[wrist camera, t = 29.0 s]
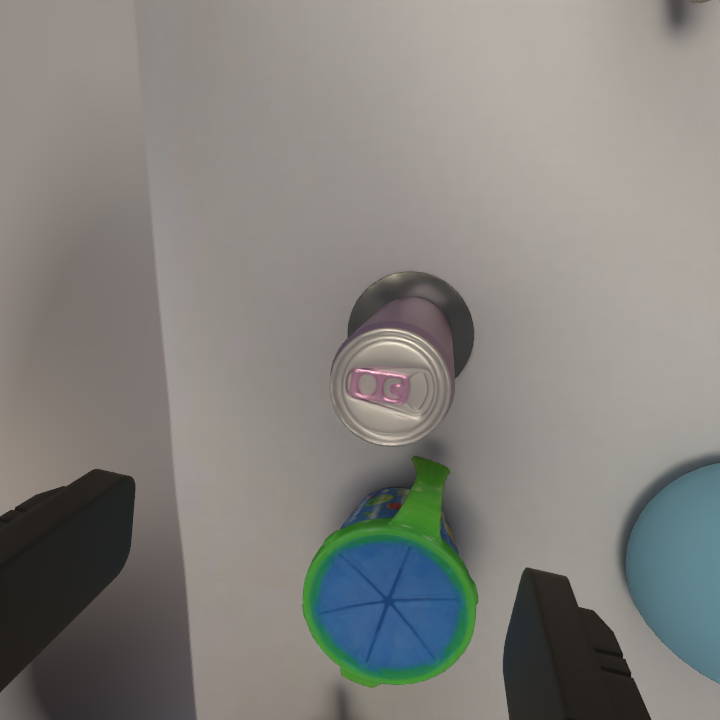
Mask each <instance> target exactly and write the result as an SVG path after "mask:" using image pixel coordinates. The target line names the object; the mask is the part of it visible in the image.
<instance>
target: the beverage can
mask: <svg viewBox="0 0 720 720" xmlns="http://www.w3.org/2000/svg"><path fill="white" fill-rule="evenodd" d="M454 392H455V373H454V356H453V339H452V331H451V327H450V324H449V322H448V320H447V318H446V316H445V315H444V313H443V312H442V311H441V310H440V309H439V308H438V307H437V306H435V305H434V304H432V303H431V302H429V301H427V300H424V299H421V298H416V297H403V298H398V299H395V300H393V301H391V302H389V303H387V304H385V305H384V306H383V307H382V308H380V309H379V310H378V311H377V312H376V313H375V314H374V315H373V316H372V317H370V318H369V319H368V320H367V321H366V322H365V323H364V324H363V325H362V326H361V327H359V328H358V329H357V330H356V331H355V332H354V333H353V334H352V335H351V336H350V337H349V338H348V339H347V340H346V341H345V342H344V343H343V344H342V345H341V347H340V348H339V350H338V352H337V354H336V356H335V358H334V360H333V364H332V367H331V373H330V396H331V401H332V404H333V407H334V409H335V412H336V413H337V415H338V417H339V419H340V420H341V421H342V423H343V424H344V425H345V426H346V427H347V428H348V429H349V430H350V431H351V432H352V433H353V434H355V435H356V436H358V437H359V438H361V439H363V440H365V441H367V442H370V443H372V444H376V445H380V446H388V447H396V446H404V445H408V444H411V443H414V442H416V441H419V440H420V439H422V438H424V437H425V436H427V435H428V434H430V433H431V432H432V431H433V430H434V429H435V428H436V427H437V426H438V425H439V423H440V422H441V421H442V420H443V418H444V417H445V416H446V414H447V412H448V411H449V408H450V406H451V404H452V401H453V397H454Z"/></svg>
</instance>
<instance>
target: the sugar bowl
mask: <svg viewBox="0 0 720 720" xmlns="http://www.w3.org/2000/svg"><path fill="white" fill-rule="evenodd" d="M625 568H626V578H627V583H628V587H629V591H630V594H631V596H632V599H633V601H634V604H635V605H636V607H637V609H638V610H639V612H640V614H641V615H642V617H643V619H644V620H645V622H646V623H647V625H648V626H649V627H650V628H651V630H652V631H653V632H654V633H655V635H656V636H657V637H658V638H659V639H660V640H661V641H662V642H663V643H664V644H665V645H666V646H667V647H668V648H669V649H670V650H671V651H672V652H673V653H674V654H676V655H677V656H678V657H679V658H680V659H681V660H683V661H684V662H685V663H687V664H688V665H689V666H691V667H692V668H694V669H695V670H697V671H698V672H699V673H701V674H703V675H704V676H706V677H708V678H710V679H711V680H713V681H715V682H717V683H719V684H720V463H715V464H710V465H707V466H704V467H701V468H698V469H696V470H693V471H691V472H689V473H687V474H685V475H683V476H681V477H679V478H678V479H676V480H674V481H673V482H671V483H670V484H668V485H667V486H666V487H665V488H663V489H662V490H661V491H660V492H659V493H658V494H657V495H656V496H655V497H654V498H653V499H652V500H651V501H650V502H649V503H648V504H647V506H646V507H645V508H644V510H643V511H642V512H641V514H640V516H639V518H638V519H637V521H636V523H635V525H634V527H633V530H632V533H631V535H630V538H629V542H628V547H627V552H626V567H625Z"/></svg>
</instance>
